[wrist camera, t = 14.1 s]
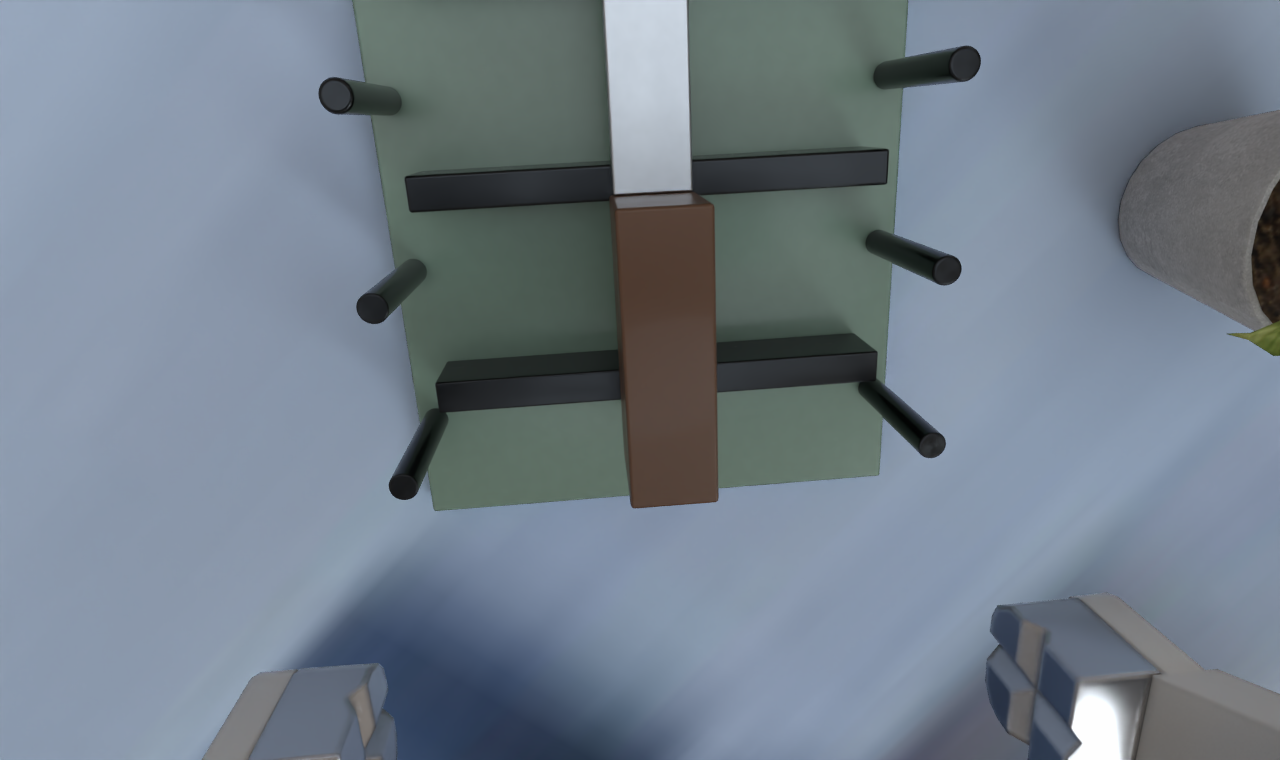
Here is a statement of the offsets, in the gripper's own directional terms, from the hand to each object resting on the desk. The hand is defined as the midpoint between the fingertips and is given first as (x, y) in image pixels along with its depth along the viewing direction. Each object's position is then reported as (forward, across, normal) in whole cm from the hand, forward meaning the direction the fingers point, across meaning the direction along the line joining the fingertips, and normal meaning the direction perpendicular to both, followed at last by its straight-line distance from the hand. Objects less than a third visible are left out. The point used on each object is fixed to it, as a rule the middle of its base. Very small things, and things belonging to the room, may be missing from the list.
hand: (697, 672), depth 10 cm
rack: (+16, +1, +6) cm, 17 cm away
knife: (+13, +1, +5) cm, 14 cm away
